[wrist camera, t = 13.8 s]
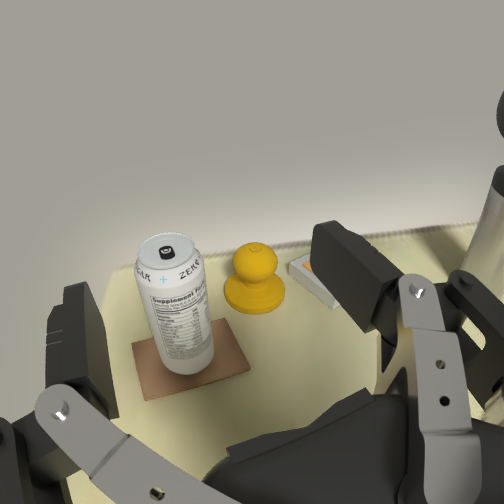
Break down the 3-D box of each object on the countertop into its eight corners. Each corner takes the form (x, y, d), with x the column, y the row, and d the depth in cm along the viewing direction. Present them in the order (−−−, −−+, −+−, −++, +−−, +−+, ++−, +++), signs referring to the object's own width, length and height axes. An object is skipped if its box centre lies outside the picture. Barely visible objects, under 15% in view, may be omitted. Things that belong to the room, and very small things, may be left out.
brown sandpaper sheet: (225, 319, 40) (224, 317, 40) (250, 369, 34) (250, 367, 34) (132, 345, 36) (131, 343, 36) (145, 400, 30) (144, 399, 30)
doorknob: (271, 269, 48) (293, 305, 42) (218, 280, 46) (234, 321, 40) (273, 225, 44) (299, 260, 38) (215, 236, 42) (233, 275, 36)
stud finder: (355, 296, 44) (360, 281, 42) (331, 312, 42) (335, 296, 40) (312, 263, 50) (314, 248, 48) (288, 275, 47) (289, 260, 46)
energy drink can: (205, 330, 38) (191, 222, 29) (222, 369, 34) (211, 260, 25) (157, 343, 36) (126, 237, 27) (169, 385, 32) (134, 280, 23)
